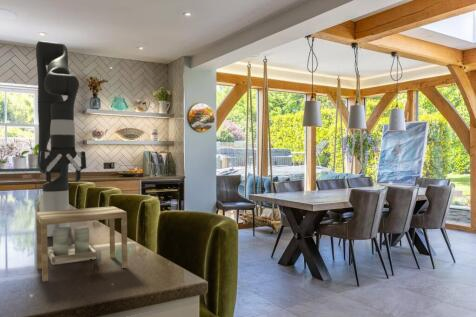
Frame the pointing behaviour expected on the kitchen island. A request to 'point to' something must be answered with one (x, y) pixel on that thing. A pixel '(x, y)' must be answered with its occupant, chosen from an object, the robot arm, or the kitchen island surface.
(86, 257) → the tray
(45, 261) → the oak shelf
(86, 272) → the kitchen island surface
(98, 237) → the kitchen island surface
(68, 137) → the robot arm
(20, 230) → the kitchen island surface
